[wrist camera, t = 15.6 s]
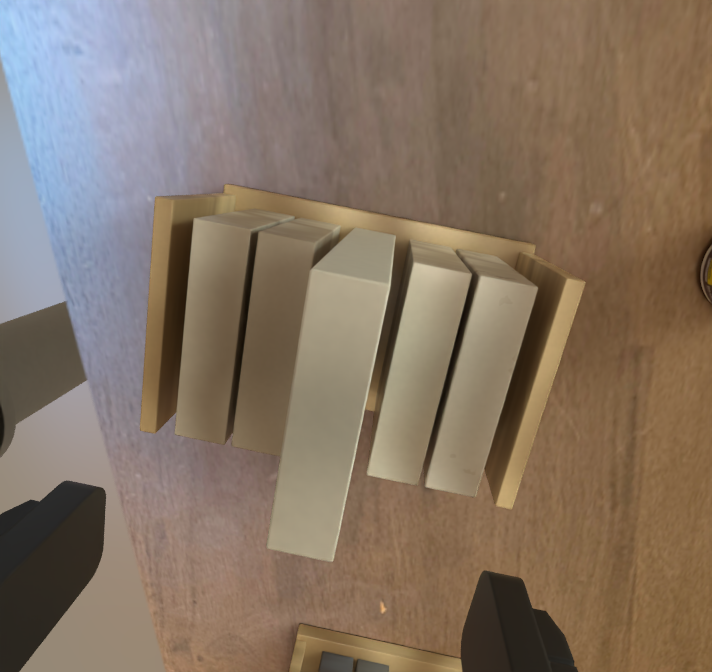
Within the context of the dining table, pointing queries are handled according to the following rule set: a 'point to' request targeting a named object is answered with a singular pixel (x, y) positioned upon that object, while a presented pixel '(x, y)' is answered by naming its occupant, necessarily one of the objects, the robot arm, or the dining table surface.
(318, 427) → the white book
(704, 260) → the supplement bottle
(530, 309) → the beige book rack
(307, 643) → the grey rack
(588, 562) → the dining table surface
